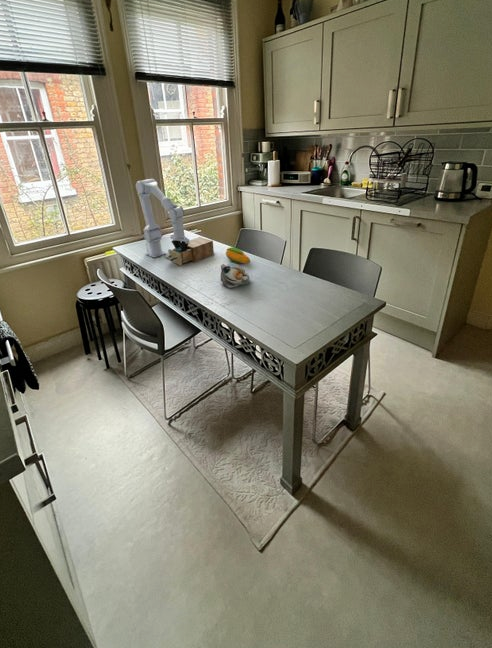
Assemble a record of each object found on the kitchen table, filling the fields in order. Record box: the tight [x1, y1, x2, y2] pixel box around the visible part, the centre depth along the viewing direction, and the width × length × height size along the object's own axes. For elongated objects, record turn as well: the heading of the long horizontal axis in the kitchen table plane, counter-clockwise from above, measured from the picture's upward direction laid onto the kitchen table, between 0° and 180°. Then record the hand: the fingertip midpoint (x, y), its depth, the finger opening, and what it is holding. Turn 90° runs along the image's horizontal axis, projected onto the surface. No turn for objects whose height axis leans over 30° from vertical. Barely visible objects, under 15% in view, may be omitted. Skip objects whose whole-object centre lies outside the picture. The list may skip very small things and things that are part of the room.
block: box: [174, 247, 182, 256], centre depth 175 cm, size 4×4×4 cm
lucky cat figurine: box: [220, 263, 250, 289], centre depth 146 cm, size 15×12×14 cm
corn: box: [225, 246, 251, 265], centre depth 173 cm, size 7×8×20 cm
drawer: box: [164, 247, 194, 266], centre depth 176 cm, size 18×10×7 cm, turn 136°
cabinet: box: [187, 236, 215, 263], centre depth 184 cm, size 15×12×9 cm
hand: (181, 253), depth 176 cm, fingers closed on block, 4 cm apart
